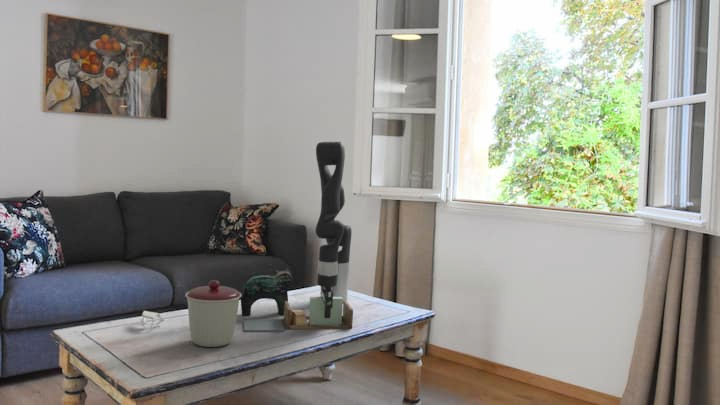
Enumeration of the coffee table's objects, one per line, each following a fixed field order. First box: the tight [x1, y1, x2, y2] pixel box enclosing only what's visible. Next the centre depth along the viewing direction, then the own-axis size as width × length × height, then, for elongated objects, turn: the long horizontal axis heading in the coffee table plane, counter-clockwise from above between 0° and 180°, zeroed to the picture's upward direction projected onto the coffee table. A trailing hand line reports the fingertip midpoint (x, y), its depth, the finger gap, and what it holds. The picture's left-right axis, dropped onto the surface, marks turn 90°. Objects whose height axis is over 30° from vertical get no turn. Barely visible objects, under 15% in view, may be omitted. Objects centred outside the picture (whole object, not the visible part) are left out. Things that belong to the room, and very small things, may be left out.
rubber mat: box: [242, 318, 285, 333], centre depth 235 cm, size 14×14×1 cm
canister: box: [184, 279, 242, 348], centre depth 212 cm, size 18×18×21 cm
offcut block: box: [290, 309, 308, 326], centre depth 241 cm, size 8×4×4 cm, turn 23°
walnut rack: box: [283, 300, 354, 330], centre depth 242 cm, size 14×24×7 cm, turn 102°
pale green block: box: [308, 296, 343, 325], centre depth 243 cm, size 3×12×10 cm, turn 102°
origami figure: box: [140, 310, 166, 332], centre depth 227 cm, size 12×8×5 cm
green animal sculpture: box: [240, 263, 293, 317], centre depth 250 cm, size 20×6×20 cm, turn 108°
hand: (325, 314), depth 243 cm, fingers open, 8 cm apart
